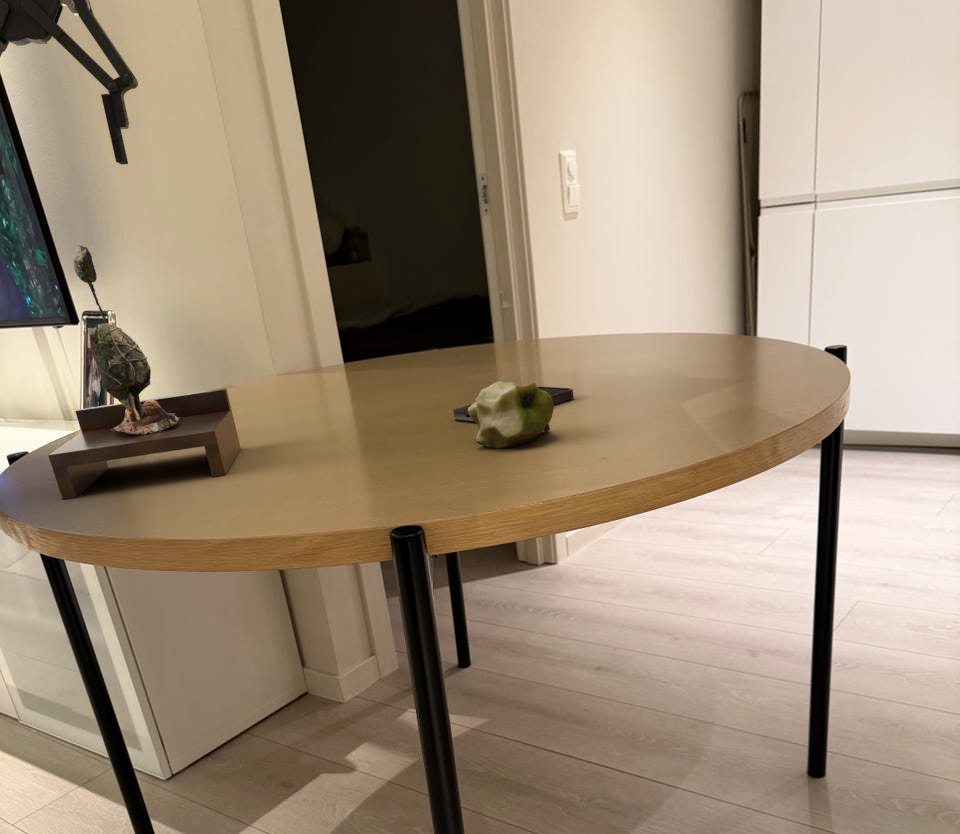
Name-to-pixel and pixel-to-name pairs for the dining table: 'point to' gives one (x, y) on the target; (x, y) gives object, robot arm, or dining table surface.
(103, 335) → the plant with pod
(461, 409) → the phone
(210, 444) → the bench
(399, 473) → the dining table surface
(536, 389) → the fruit
